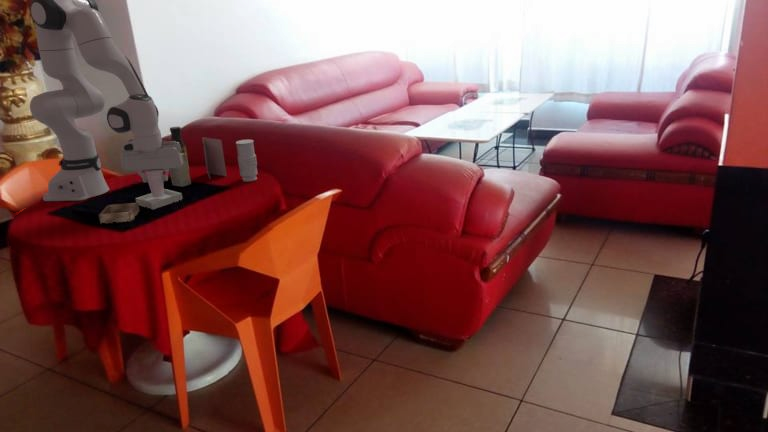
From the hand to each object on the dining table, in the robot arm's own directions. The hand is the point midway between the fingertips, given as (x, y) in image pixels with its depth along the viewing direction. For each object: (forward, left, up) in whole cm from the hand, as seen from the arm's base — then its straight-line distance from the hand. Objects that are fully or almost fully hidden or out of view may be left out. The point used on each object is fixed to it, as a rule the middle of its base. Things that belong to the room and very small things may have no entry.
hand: (155, 181), depth 209 cm
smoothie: (0, 0, -6) cm, 6 cm away
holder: (-10, -13, -8) cm, 18 cm away
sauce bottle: (+2, +33, -8) cm, 34 cm away
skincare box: (+4, +20, -8) cm, 22 cm away
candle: (+30, +20, -8) cm, 37 cm away
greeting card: (+16, +29, -8) cm, 34 cm away
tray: (0, 0, -8) cm, 8 cm away
